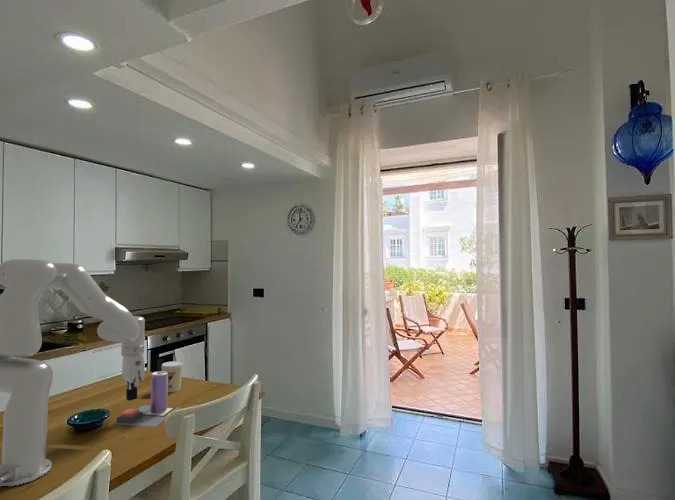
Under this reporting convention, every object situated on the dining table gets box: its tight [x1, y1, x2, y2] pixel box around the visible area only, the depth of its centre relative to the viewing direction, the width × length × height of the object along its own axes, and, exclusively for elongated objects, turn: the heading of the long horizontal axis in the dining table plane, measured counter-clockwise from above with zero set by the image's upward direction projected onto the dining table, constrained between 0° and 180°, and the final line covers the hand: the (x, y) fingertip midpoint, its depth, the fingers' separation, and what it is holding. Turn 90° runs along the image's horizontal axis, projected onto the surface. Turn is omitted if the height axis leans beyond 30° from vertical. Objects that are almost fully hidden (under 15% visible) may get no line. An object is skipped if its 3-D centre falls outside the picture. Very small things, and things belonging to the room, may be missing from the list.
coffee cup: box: [160, 360, 184, 393], centre depth 176 cm, size 9×9×12 cm
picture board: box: [113, 405, 181, 428], centre depth 144 cm, size 18×16×3 cm
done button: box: [120, 408, 139, 418], centre depth 140 cm, size 4×4×2 cm
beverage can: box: [149, 370, 169, 414], centre depth 148 cm, size 6×6×15 cm
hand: (131, 399), depth 141 cm, fingers closed
